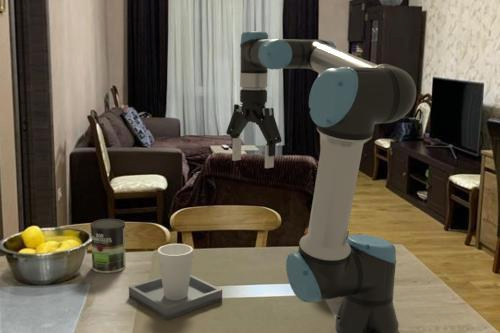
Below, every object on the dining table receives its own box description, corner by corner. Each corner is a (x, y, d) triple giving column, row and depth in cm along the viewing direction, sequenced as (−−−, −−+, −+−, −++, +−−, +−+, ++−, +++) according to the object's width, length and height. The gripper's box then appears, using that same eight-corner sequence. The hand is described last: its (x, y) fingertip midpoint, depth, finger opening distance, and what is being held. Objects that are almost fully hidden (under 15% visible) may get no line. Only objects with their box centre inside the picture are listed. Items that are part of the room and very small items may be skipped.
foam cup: (186, 304, 156) (186, 257, 153) (153, 300, 158) (152, 254, 155) (197, 289, 165) (197, 245, 162) (165, 286, 167) (165, 242, 164)
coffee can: (115, 275, 177) (114, 230, 174) (85, 271, 180) (83, 226, 177) (132, 263, 187) (131, 220, 184) (103, 259, 190) (101, 217, 187)
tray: (222, 300, 161) (222, 289, 160) (167, 319, 149) (166, 308, 148) (182, 280, 174) (182, 270, 173) (129, 297, 162) (128, 286, 161)
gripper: (295, 91, 158) (293, 169, 162) (234, 85, 176) (233, 155, 180) (275, 92, 153) (274, 172, 157) (214, 86, 171) (214, 158, 175)
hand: (252, 163), depth 169 cm, fingers open, 13 cm apart
